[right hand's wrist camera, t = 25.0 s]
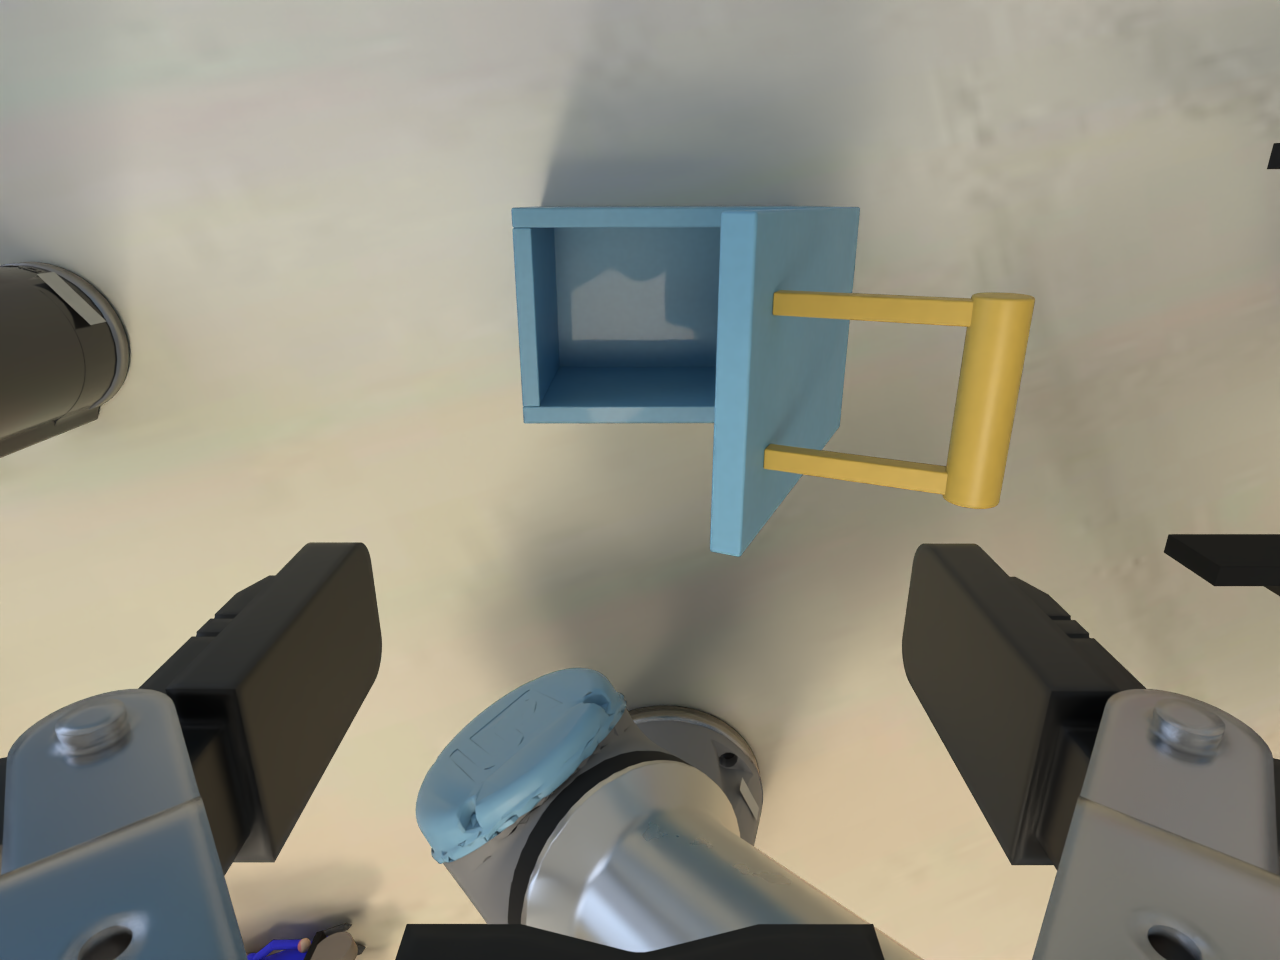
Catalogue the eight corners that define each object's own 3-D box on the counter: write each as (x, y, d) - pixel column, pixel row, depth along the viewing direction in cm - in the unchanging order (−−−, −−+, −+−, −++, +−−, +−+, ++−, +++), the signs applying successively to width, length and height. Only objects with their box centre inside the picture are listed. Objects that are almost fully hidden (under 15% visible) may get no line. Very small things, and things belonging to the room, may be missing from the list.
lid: (708, 552, 24) (984, 605, 21) (720, 211, 21) (1055, 211, 17) (818, 425, 38) (995, 445, 35) (836, 207, 34) (1036, 207, 31)
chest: (547, 377, 48) (523, 423, 38) (539, 206, 45) (510, 207, 35) (788, 377, 48) (826, 422, 38) (799, 205, 45) (845, 206, 35)
